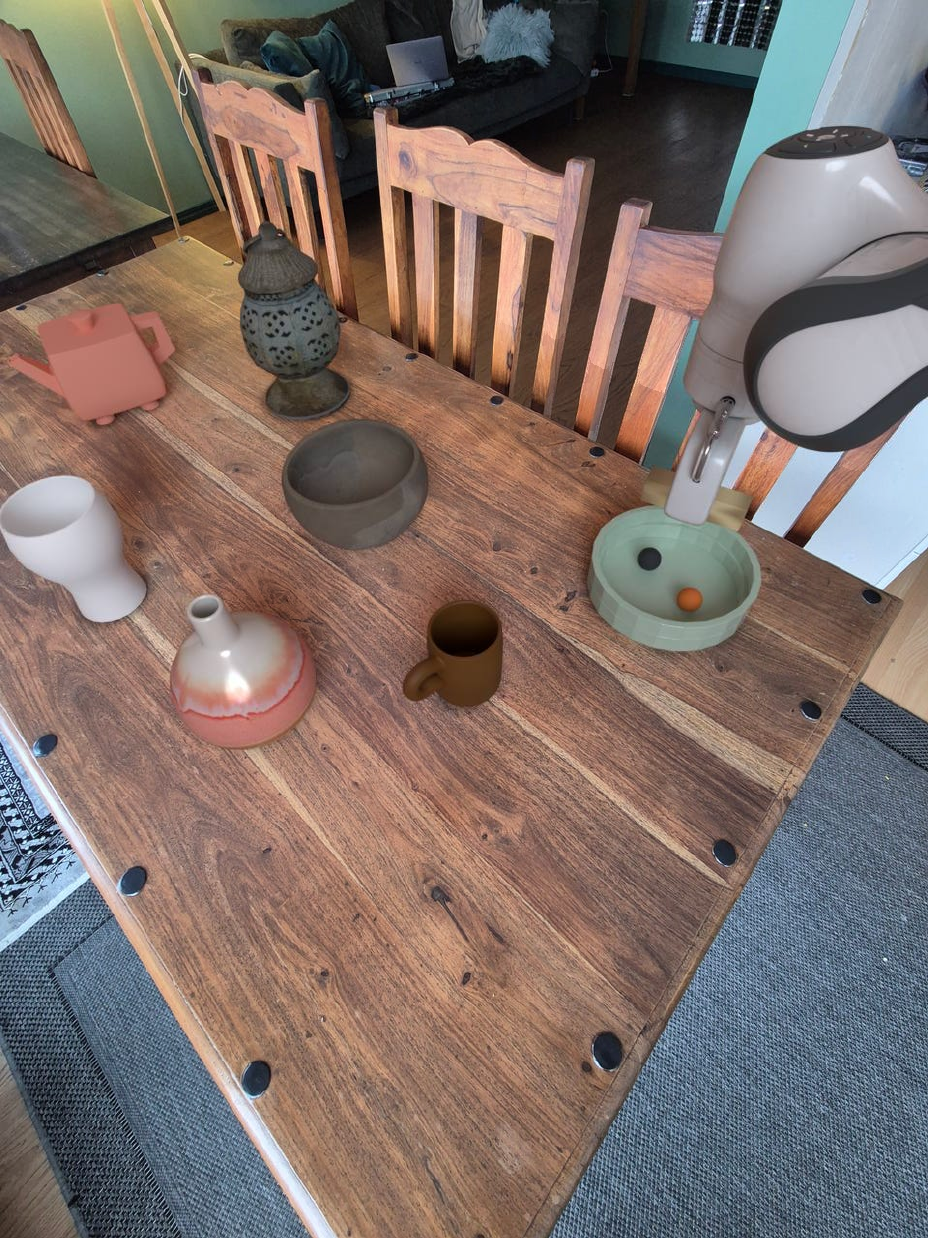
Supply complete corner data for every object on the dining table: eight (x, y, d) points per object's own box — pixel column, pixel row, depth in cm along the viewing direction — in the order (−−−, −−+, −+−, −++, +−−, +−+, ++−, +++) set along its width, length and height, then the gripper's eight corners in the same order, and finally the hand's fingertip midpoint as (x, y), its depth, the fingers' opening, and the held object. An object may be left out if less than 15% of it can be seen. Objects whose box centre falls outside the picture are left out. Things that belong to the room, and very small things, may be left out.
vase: (312, 640, 73) (271, 531, 59) (340, 743, 65) (300, 644, 51) (189, 677, 70) (116, 571, 56) (204, 788, 62) (123, 698, 48)
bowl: (272, 517, 85) (251, 456, 77) (379, 458, 92) (369, 398, 84) (346, 591, 77) (330, 532, 69) (457, 521, 84) (454, 460, 76)
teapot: (54, 446, 96) (-3, 358, 84) (41, 403, 102) (-14, 317, 91) (198, 399, 102) (163, 312, 91) (177, 362, 109) (142, 277, 97)
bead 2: (701, 603, 74) (708, 587, 72) (695, 620, 73) (701, 604, 70) (678, 594, 75) (684, 579, 73) (671, 611, 74) (676, 596, 71)
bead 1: (661, 562, 78) (667, 547, 76) (654, 578, 77) (659, 562, 74) (639, 555, 79) (644, 539, 77) (632, 570, 77) (636, 554, 75)
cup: (72, 574, 80) (0, 481, 68) (160, 557, 81) (104, 463, 69) (62, 641, 74) (-19, 551, 62) (157, 621, 75) (96, 530, 63)
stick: (743, 516, 64) (753, 495, 62) (737, 531, 63) (747, 510, 60) (647, 486, 67) (653, 464, 65) (639, 500, 66) (645, 479, 63)
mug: (437, 752, 64) (430, 706, 57) (386, 706, 68) (374, 657, 60) (515, 678, 69) (519, 626, 62) (465, 638, 73) (463, 585, 65)
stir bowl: (761, 563, 78) (776, 534, 74) (723, 679, 69) (738, 653, 65) (617, 516, 84) (623, 487, 80) (562, 617, 74) (567, 589, 70)
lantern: (255, 421, 98) (197, 248, 78) (271, 370, 107) (223, 201, 87) (346, 419, 98) (311, 245, 78) (355, 367, 106) (325, 198, 87)
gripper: (753, 453, 46) (700, 577, 57) (805, 319, 57) (751, 446, 68) (667, 429, 48) (632, 554, 59) (733, 304, 58) (693, 430, 70)
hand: (696, 495), depth 63 cm, fingers closed on stick, 2 cm apart
